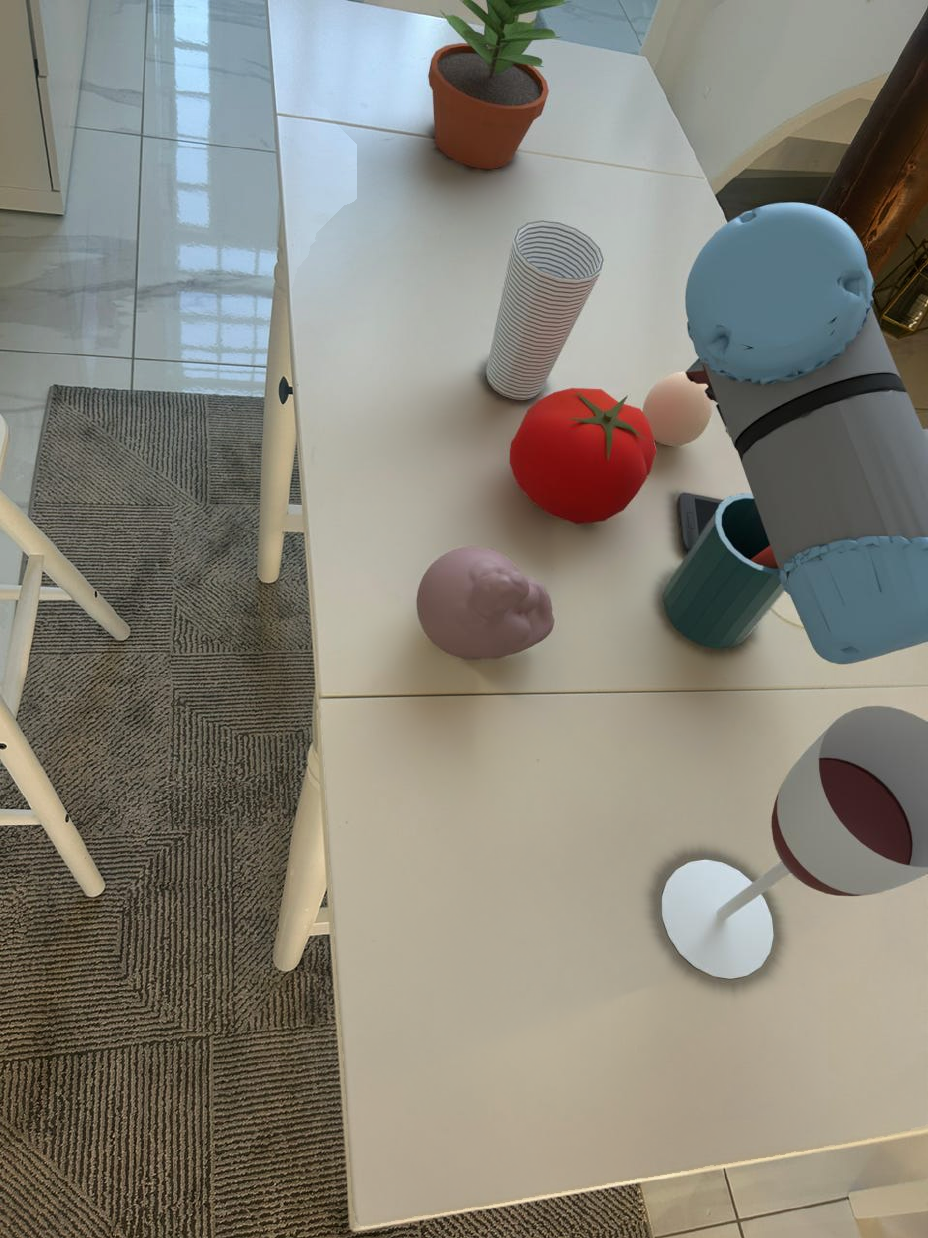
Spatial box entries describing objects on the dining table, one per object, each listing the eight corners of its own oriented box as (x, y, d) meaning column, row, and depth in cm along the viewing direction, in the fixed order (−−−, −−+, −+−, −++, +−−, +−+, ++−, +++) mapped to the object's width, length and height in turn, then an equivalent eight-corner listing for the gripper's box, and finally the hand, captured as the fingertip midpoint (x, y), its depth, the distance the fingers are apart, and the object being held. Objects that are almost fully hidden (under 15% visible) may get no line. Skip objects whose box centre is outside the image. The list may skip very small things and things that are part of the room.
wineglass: (629, 906, 70) (784, 764, 51) (715, 831, 75) (885, 677, 57) (720, 1014, 67) (919, 904, 49) (803, 927, 72) (1012, 799, 54)
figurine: (541, 690, 79) (588, 605, 69) (405, 673, 77) (434, 582, 67) (537, 602, 84) (581, 511, 74) (410, 583, 82) (438, 487, 72)
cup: (565, 376, 102) (617, 247, 89) (535, 422, 97) (586, 292, 84) (493, 340, 102) (534, 207, 90) (459, 384, 97) (498, 250, 85)
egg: (675, 411, 103) (707, 352, 96) (704, 457, 99) (738, 400, 93) (621, 416, 100) (650, 356, 94) (648, 464, 97) (680, 405, 91)
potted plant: (390, 132, 121) (438, -157, 97) (467, 102, 129) (528, -172, 105) (480, 195, 117) (552, -89, 93) (553, 159, 126) (637, -110, 102)
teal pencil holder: (768, 635, 88) (832, 560, 79) (695, 660, 84) (753, 584, 75) (717, 563, 91) (773, 484, 82) (645, 584, 88) (696, 504, 79)
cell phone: (675, 495, 95) (678, 490, 94) (807, 522, 97) (811, 517, 96) (681, 553, 91) (684, 548, 90) (819, 580, 93) (823, 575, 92)
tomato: (545, 560, 87) (583, 479, 78) (475, 462, 92) (504, 376, 83) (657, 521, 93) (704, 442, 84) (586, 431, 98) (623, 348, 89)
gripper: (591, 308, 59) (657, 410, 78) (917, 595, 51) (899, 628, 70) (681, 209, 57) (725, 338, 77) (1032, 489, 49) (980, 553, 69)
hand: (808, 477), depth 74 cm, fingers open, 13 cm apart
